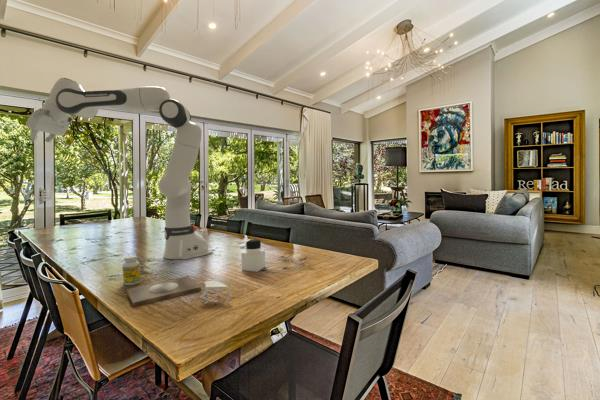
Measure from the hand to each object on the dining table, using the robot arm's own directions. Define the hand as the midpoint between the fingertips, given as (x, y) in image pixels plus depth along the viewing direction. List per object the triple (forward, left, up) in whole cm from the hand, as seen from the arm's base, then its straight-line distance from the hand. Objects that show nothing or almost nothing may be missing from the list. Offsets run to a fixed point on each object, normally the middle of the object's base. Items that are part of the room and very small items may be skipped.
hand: (40, 140), depth 134 cm
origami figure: (-43, +89, -55) cm, 113 cm away
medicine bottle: (-67, +68, -55) cm, 110 cm away
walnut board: (-32, +71, -54) cm, 95 cm away
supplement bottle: (-25, +55, -55) cm, 81 cm away
